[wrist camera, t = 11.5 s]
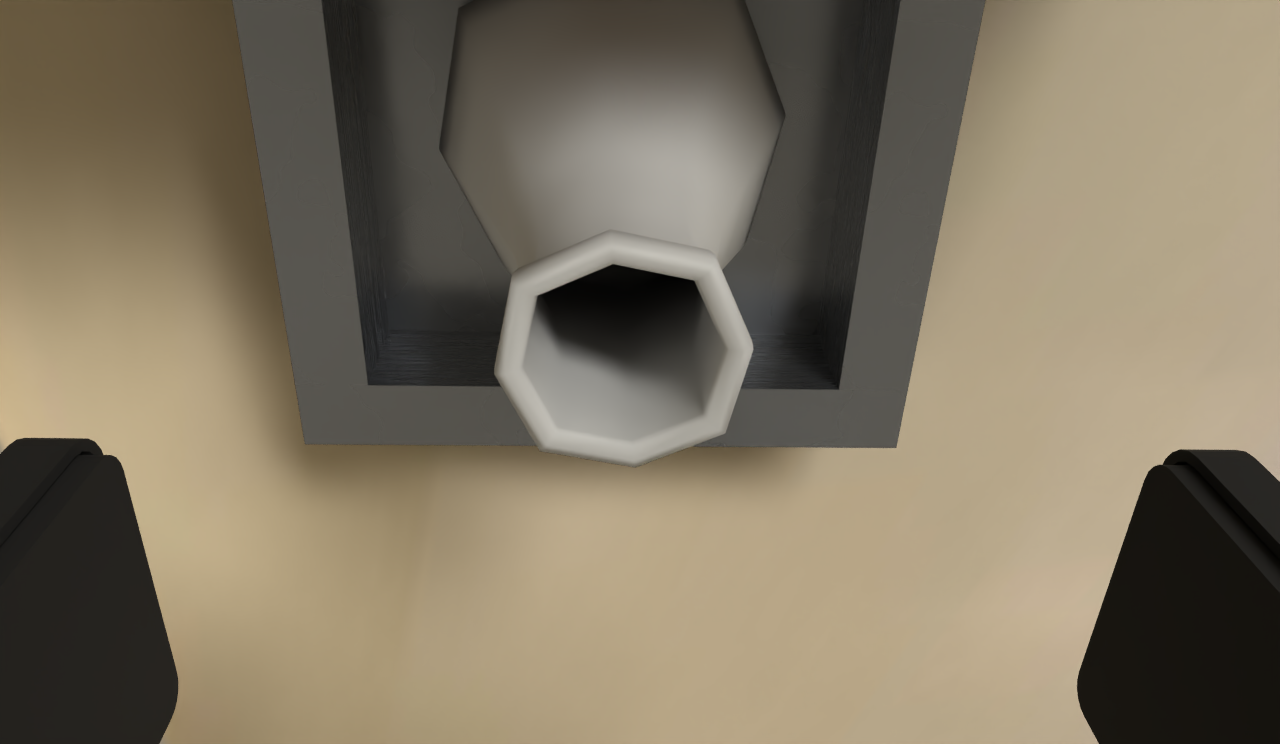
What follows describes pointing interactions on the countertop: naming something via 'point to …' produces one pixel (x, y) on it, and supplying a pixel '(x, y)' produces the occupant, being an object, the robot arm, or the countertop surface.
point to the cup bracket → (479, 283)
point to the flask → (614, 208)
